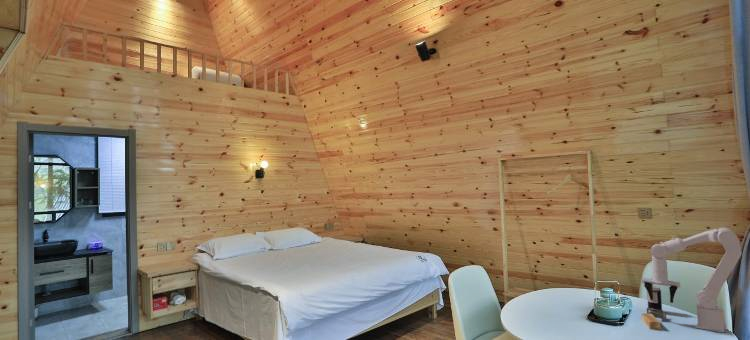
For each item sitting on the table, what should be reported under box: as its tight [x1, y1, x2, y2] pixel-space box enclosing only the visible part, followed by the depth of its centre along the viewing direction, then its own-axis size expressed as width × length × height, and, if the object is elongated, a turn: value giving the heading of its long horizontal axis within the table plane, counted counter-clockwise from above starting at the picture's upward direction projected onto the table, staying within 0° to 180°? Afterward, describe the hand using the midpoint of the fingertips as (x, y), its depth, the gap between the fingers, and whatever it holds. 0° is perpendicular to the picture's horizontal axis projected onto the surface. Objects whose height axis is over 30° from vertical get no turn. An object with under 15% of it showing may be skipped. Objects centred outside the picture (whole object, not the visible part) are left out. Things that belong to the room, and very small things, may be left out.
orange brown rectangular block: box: [641, 312, 661, 331], centre depth 186 cm, size 4×12×4 cm, turn 161°
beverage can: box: [646, 285, 663, 313], centre depth 204 cm, size 6×6×12 cm
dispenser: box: [646, 307, 667, 323], centre depth 194 cm, size 6×6×5 cm
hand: (661, 300), depth 190 cm, fingers open, 7 cm apart
